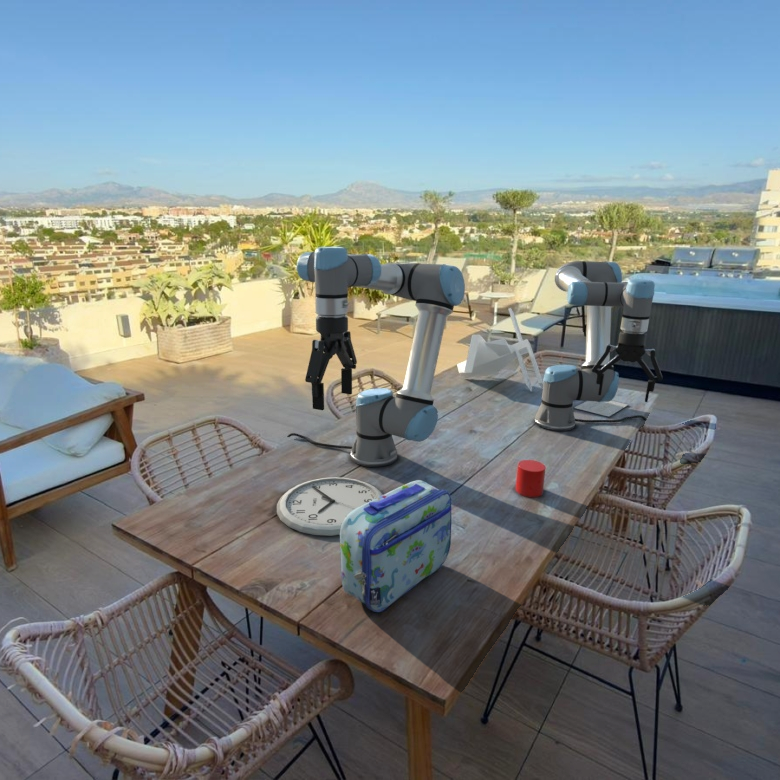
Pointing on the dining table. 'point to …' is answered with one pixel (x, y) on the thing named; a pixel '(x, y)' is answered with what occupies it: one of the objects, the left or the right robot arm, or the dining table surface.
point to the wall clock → (323, 504)
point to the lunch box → (394, 543)
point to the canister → (530, 478)
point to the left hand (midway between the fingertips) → (333, 401)
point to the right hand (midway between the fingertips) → (622, 397)
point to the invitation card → (601, 407)
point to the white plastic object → (497, 356)
